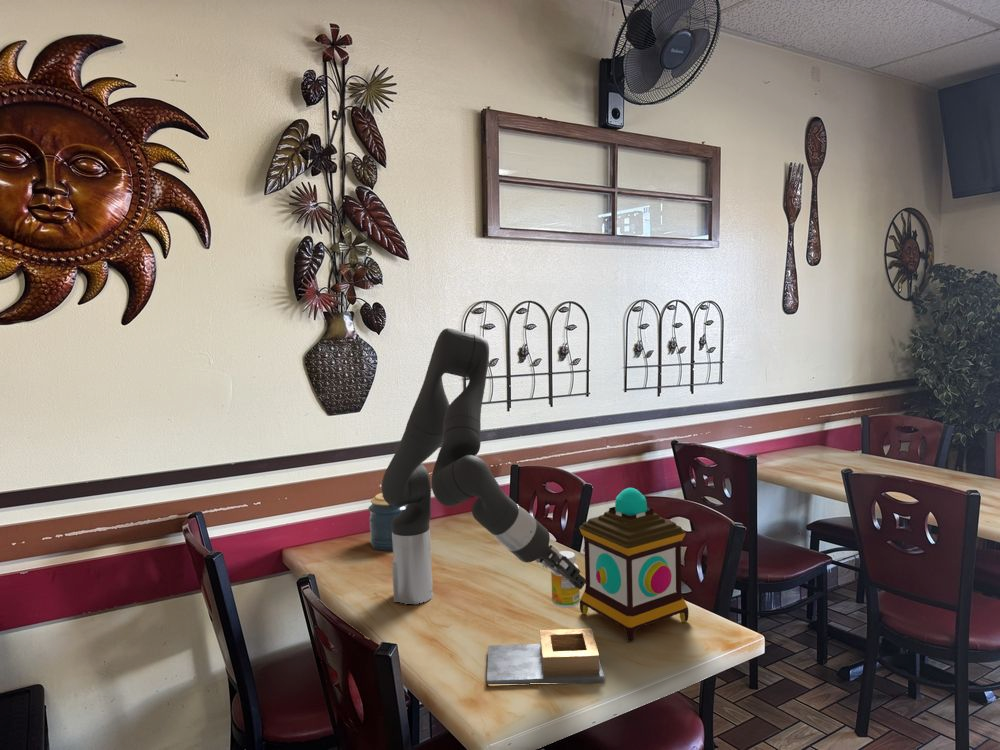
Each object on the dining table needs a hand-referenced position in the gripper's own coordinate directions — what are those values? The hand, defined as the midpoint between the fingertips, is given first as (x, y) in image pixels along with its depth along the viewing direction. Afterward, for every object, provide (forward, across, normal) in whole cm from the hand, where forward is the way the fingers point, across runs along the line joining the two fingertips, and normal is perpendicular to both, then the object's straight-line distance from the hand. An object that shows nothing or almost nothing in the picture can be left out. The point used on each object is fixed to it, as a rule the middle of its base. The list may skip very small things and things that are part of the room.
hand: (573, 579), depth 130 cm
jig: (+8, +2, +16) cm, 18 cm away
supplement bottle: (+2, 0, +4) cm, 5 cm away
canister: (+8, +87, +16) cm, 89 cm away
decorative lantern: (+28, +8, -3) cm, 29 cm away
